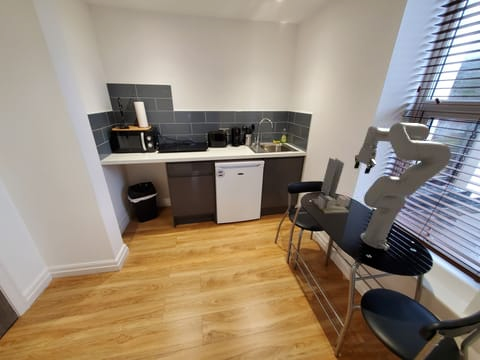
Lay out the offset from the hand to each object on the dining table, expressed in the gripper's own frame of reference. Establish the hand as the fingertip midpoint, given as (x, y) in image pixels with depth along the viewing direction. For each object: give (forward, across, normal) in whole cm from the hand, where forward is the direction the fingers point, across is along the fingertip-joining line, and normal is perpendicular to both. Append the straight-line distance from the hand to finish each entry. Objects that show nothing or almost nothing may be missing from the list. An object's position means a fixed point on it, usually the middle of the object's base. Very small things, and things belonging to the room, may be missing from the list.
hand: (361, 170), depth 128 cm
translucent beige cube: (+29, +4, +3) cm, 29 cm away
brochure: (+31, +24, +2) cm, 39 cm away
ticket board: (+30, +4, +13) cm, 33 cm away
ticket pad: (+29, +4, +17) cm, 34 cm away
